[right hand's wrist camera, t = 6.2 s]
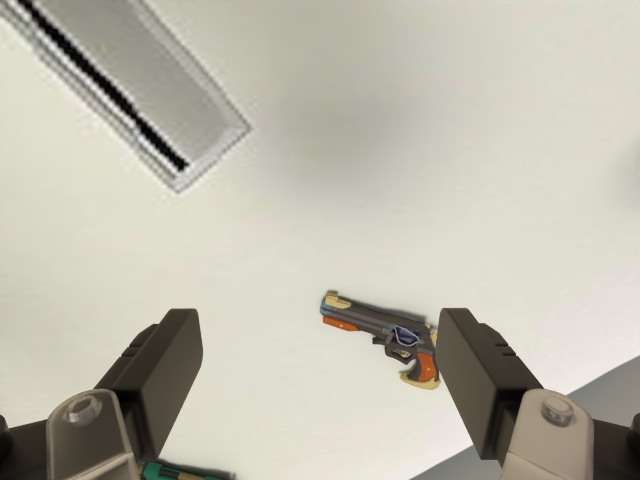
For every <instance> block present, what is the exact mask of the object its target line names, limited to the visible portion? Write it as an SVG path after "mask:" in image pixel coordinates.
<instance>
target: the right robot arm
mask: <svg viewBox="0 0 640 480" xmlns="http://www.w3.org/2000/svg"><path fill="white" fill-rule="evenodd" d="M435 355H436V362H437V366H438V368H439V370H440V373H441V375H442V377H443V379H444V381H445V383H446V386H447V388H448V390H449V392H450V394H451V396H452V398H453V401H454V403H455V405H456V407H457V409H458V411H459V414H460V416H461V418H462V420H463V422H464V424H465V426H466V429H467V431H468V433H469V435H470V437H471V439H472V442H473V444H474V446H475V448H476V450H477V452H478V454H479V457H480V459H481V460H498V462H499V464H500V466H501V468H502V472H501V476H500V480H640V413H638V414H636V415H635V416H634V419H633V421H632V424H631V426H630V428H629V427H625V426H621V425H617V424H612V423H608V422H604V421H600V420H596V419H592V418H591V416H590V414H589V413H588V412H587V411H586V410H585V409H584V408H583V407H582V406H581V405H580V404H578V403H577V402H576V401H574V400H572V399H571V398H569V397H567V396H565V395H563V394H561V393H558V392H555V391H552V390H547V389H544V388H543V386H542V385H541V384H540V383H539V381H538V380H537V379H536V378H535V376H534V375H533V374H532V373H531V372H530V370H529V369H528V368H527V367H526V365H525V364H524V363H523V362H522V361H521V359H520V358H519V357H518V356H516V353H515V352H514V351H513V349H512V348H511V347H509V346H508V343H507V342H506V341H505V340H504V338H503V337H502V336H501V335H500V334H499V333H498V332H497V331H495V330H494V329H492V328H491V327H489V326H488V325H486V324H485V323H478V321H477V320H476V319H475V317H474V316H473V315H472V313H471V312H470V311H469V310H468V309H467V308H443V309H442V310H441V312H440V318H439V325H438V332H437V340H436V347H435ZM202 358H203V346H202V339H201V332H200V324H199V317H198V312H197V310H196V309H170V310H169V311H168V313H167V314H166V315H165V317H164V318H163V319H162V321H161V322H160V323H159V324H152V325H151V326H149V327H148V328H146V329H145V330H143V331H142V332H141V333H139V334H138V335H137V336H136V338H135V339H134V340H133V341H132V342H131V344H130V345H129V347H127V349H126V350H125V351H124V352H123V353H122V356H121V357H119V358H118V359H117V361H116V362H115V363H114V364H113V366H112V367H111V368H110V369H109V370H108V372H107V373H106V374H105V375H104V377H103V378H102V379H101V380H100V381H99V383H98V384H97V385H96V386H95V387H94V389H93V390H88V391H85V392H82V393H79V394H77V395H75V396H73V397H71V398H69V399H67V400H66V401H64V402H63V403H62V404H60V405H59V406H58V407H57V408H56V409H55V410H54V411H53V412H52V413H51V414H50V416H49V418H48V419H46V420H43V421H38V422H34V423H30V424H26V425H22V426H17V427H13V428H8V426H7V423H6V421H5V418H4V417H3V416H2V415H0V480H140V476H139V472H138V469H137V466H138V464H139V462H140V461H157V459H158V457H159V455H160V452H161V450H162V448H163V446H164V444H165V442H166V440H167V438H168V435H169V433H170V431H171V429H172V427H173V425H174V423H175V421H176V418H177V416H178V414H179V412H180V410H181V408H182V406H183V403H184V401H185V399H186V397H187V395H188V393H189V391H190V389H191V386H192V384H193V382H194V380H195V378H196V376H197V374H198V372H199V369H200V367H201V364H202Z"/></svg>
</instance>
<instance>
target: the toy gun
mask: <svg viewBox="0 0 640 480" xmlns="http://www.w3.org/2000/svg"><path fill="white" fill-rule="evenodd" d="M320 313H322V315H324V317H323V323H326V324H328V325H331V326H334V327H337V328H340V329H343V330H346V331H365V332H368V333H371V334H374V335H376V337H374V338H372V340H373V344H381V345H386V346H385V354H386V355H387V356H389V357H392V358H395V359H397V360H399V361H400V362H402V363H403V364H405V365H407V364H408V363H409V362H410V361H411V360H413V359H417V366H416V368H415V369H414V370H413V371H412V372H406V373H402V374H401V375H400V379H401V380H402V381H404V382H406V383H408V384H410V385H413V386H416V387H419V388H422V389H429V390H433V389H435V388H437V387H438V386H439V384H440V378H439V368H438V366H437V362H436V355H435V347H434V344H433V343H434V342H435V340H437V334H436V333H435V332H434V331H433V333H432V334H430V331H429V328H430V326H431V325H426V324H423V323H421V322H417V321H414V320H411V319H408V318H404V317H399V316H393V315H386V314H382V313H379V312H376V311H373V310H370V309H367V308H364V307H361V306H358V305H355V304H352V303H350V302H347V301H344V300H341V299H338V295H337V294H331V293H328V294H327V295H326V299H325V300H324V299H323V301H322V304H321V309H320ZM417 331H418V332H419V333H417ZM393 336H395V337H397V338H395V337H393ZM414 339H415V340H414ZM413 340H414V342H412V341H413ZM396 348H397V349H400V350H404V351H406V353H405V354H401V355H400V354H398V353H396V352H394V351H392V350H394V349H396ZM408 352H409V353H408ZM407 353H408V354H407ZM409 354H411V355H410V356H408V355H409ZM406 356H408V357H406Z"/></svg>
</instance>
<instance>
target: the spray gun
mask: <svg viewBox="0 0 640 480" xmlns="http://www.w3.org/2000/svg"><path fill="white" fill-rule="evenodd" d="M137 469H138V472H139V476H140V480H221V479H217V478H213V477H209V476H206V477H203V476H199V475H195V474H191V473H186V472H182V471H178V470H174V469H170V468H166V467H164V466H163V465H162V464H158V463H153V462H149V463H145V465H144V466H140V465H138V466H137Z"/></svg>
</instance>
